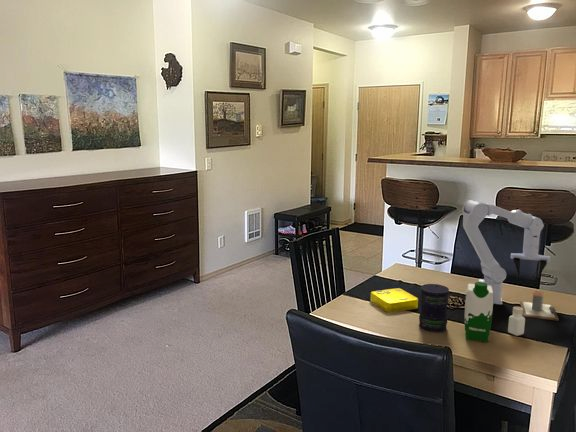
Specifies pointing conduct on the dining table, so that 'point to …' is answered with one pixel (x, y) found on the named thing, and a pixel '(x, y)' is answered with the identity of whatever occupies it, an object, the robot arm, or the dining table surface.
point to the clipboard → (545, 313)
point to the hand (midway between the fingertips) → (528, 276)
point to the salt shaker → (516, 322)
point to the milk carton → (478, 311)
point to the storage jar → (433, 308)
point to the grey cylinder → (537, 300)
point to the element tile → (394, 300)
